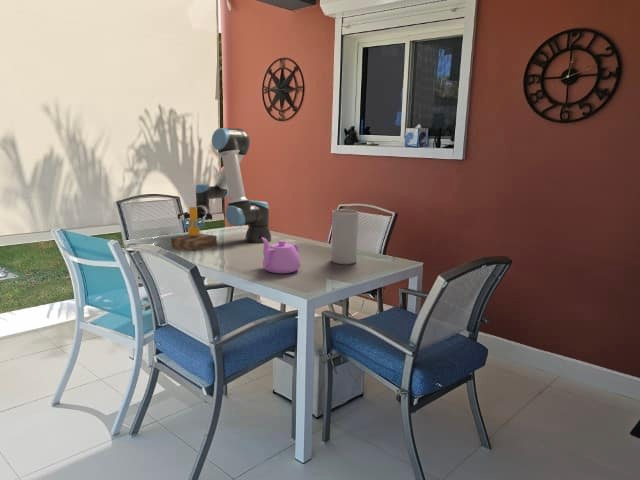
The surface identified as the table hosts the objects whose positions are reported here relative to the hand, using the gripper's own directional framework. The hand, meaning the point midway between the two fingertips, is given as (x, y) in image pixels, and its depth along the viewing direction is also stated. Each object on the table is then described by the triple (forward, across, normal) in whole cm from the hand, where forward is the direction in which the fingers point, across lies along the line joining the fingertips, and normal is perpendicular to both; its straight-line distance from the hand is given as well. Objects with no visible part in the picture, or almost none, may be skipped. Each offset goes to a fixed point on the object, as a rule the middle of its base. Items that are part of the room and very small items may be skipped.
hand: (192, 219), depth 261 cm
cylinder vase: (+28, -79, -15) cm, 85 cm away
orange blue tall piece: (-4, 0, -9) cm, 10 cm away
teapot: (+43, -47, -15) cm, 66 cm away
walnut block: (-4, 0, -15) cm, 16 cm away
